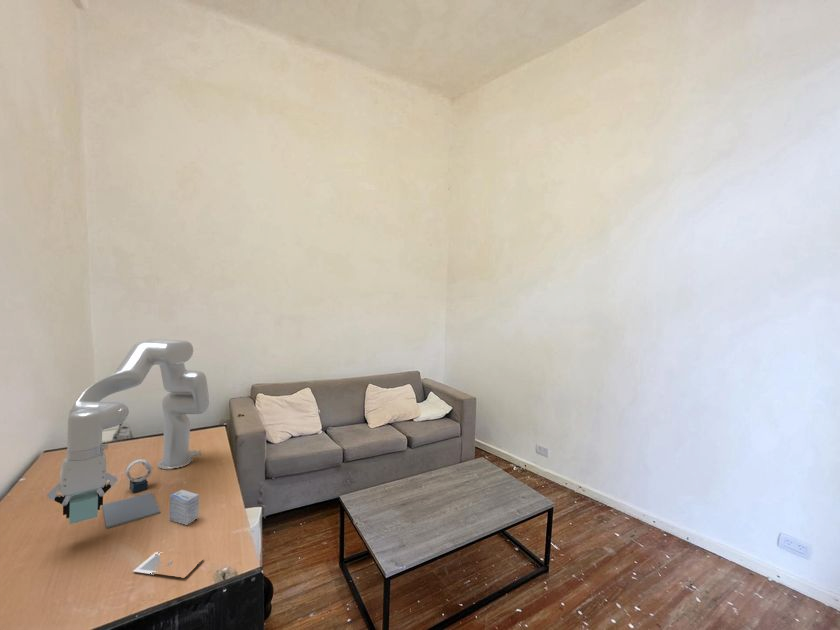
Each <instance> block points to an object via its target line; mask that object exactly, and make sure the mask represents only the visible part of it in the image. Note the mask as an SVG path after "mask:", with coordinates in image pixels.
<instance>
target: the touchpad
mask: <svg viewBox="0 0 840 630" xmlns="http://www.w3.org/2000/svg"><path fill="white" fill-rule="evenodd" d="M158 552H160V553H162V552H161V551H155V552H153V554H151V555H150V556H149V557H148V558H147V559H146V560H143V562H142V563H140V565H138V566H137V567H136V568H135V569H134V570H132V572H134V573H141V574H148V575H153V574H152V572H156V570H159V569H158V565H159V563H161V564H162V562H160V561H159V559H160V553H159V554H158ZM155 554H158V556H155ZM156 561H157V562H158V563H156ZM172 562H173V561H172V560H170V561H169V562H168V564H167V566H169V565H170V564H172ZM155 566H157V569H156V568H155ZM185 566H186V565H185ZM190 566H191V565H190ZM159 567H162V566H159ZM153 569H154V570H155V569H156V570H155V571H154V570H153ZM157 572H158V571H157ZM150 573H151V574H150Z"/></svg>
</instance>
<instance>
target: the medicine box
mask: <svg viewBox="0 0 840 630" xmlns="http://www.w3.org/2000/svg"><path fill="white" fill-rule="evenodd" d="M199 496H200V494H198V493H196V492H195V493H194V492H191V491H188V490H186V489H180V490H179V491H176V492H174V493H172V494H171V495H170V497H169V519H170V520H169V521H171V520H173V521H172V522H174V521H176V522H175V523H177V522H179V523H178V524H180V523H182V524H181V525H183V524H186V525H187V524H189V523H190V522H192V521H194V520H195V519H196V518H198V519H199V508H200V506H199V504H200V503H199V502H200V501H199V500H200V497H199ZM194 522H195V521H194ZM186 525H185V526H186ZM189 525H190V524H189Z"/></svg>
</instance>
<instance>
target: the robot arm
mask: <svg viewBox="0 0 840 630" xmlns="http://www.w3.org/2000/svg"><path fill="white" fill-rule="evenodd" d="M193 354H194V346H193V345H192V343H191V342H190V341H187V340H176V339H175V340H174V339H162V338H160V339H159V338H152V339H147V340H143V341H139V342H137V343H135V344H134V345H133V346H132V347H131V349H130V350H129V351H128V352H127V354H126V355H125V357H124V359H122V361H121V363H120V364H119V365H118V367H117V368H116V370H115V371H114V372H113V373H111V374H108V375H107V376H104V377H103V378H101V379H99V380H98V381H96V382H94V383H93V384H91V385H89V386H88V387H86V389H84V390H83V391H82V393H81V394H80V395H79V396H78V398H77V399H76V401H74V403H73V405H72V406H71V408H70V411H69V413H68V418H67V442H66V443H67V447H66V449H67V450H66V451H67V453H66V457H65V458H64V459H63V461H62V463H61V464H62V465H61V468H60V470H61V474H60V477H59V478H60V479H59V482H57V484H55V486H54V487H53V488H52V489H51V490H50V491H48V493H46V498H48V499H50V500H52V501H54V502H56V503H57V504H60V505H62V516H65V518H66V520H67V519H69V513H70V502H69V500H70V498H71V496H72V494H77V493H81V492H85V491H89V490H93V489H96V491H97V494H98V511H99V510H101V506H102V505H104V495H105V494H106V493H107V492H108V491H109V490H110V489H111V488H112V487H113V486H114V485H115V484H116V483H117V482H118V480H119V479H118V477H116V476H115V475H113V474H111V473H110V472H108V470H107V457H106V453H105V450H108V449H109V444H107V443H106V444H103V431H104V430H107V429H110V428H111V429H112V428H114V427H118V426H120V425H121V424H123V423H124V422H125V421H126V420H127V418H128V416H129V412H130V411H129V407H128V406H127V405H126V404H125V403H123V402H117V401H114V402H113V401H102V400H104V398H107V397H108V396H111V395H113V394H116V393H119V392H124V391H126V390H129V389H132V388H136V387H138V386H140V385H141V384H142V383H143V382H144V380H145V378H146V377H147V375H148V374H149V372H150V370H151V369H152V367H153V366H155V365H156V366H159V368H160V374H161V379H162V385H163V388H164V390H165V391H166V392H169V393H167V394H166V395H165V396H164V397H163V398H162V402H161V403H162V404H161V405H162V411H163V418H164V419H163V441H162V442H163V447H162V458H161V459H160V460H159V462H158V464H157V466H158V468H159V469H161V468H162V469H161V470H173V469H172V468H177V469H179V468H178V467H182V466H184V465H186V464H188V463H190V462H191V461H192V462H193V458H194V457H197V456H201V455H202V452H201V450H196V449H195V450H190V434H191V421H190V419H189V417H188V416H189V415H203V414H204V413H206V412H207V410H208V409H209V407H210V406H209V405H210V398H209V397H210V396H209V388H208V387H209V386H208V380H207V376H206V374H205V373H204V372H202V371H198V370H187V369H186V366H185V363H186V362H188V361H189V360H190V359H191V358H192V357H193ZM192 462H191V463H192ZM191 463H190V464H191ZM182 468H183V467H182ZM107 480H108V482H107ZM59 491H60V492H59ZM58 492H59V493H60V494H57V493H58Z"/></svg>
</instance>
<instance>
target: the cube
mask: <svg viewBox="0 0 840 630" xmlns="http://www.w3.org/2000/svg"><path fill="white" fill-rule="evenodd" d="M69 502H70V513H69V518H68V523H69V524H68V525H73V524H76V523H80V522H84V521H86V520H91V519H94V518H98V513H99V512H98V511H99V510H98V494H97V491H96V489H93V490H89V491H85V492H81V493H77V494H72V496H71V498H70V500H69Z"/></svg>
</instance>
